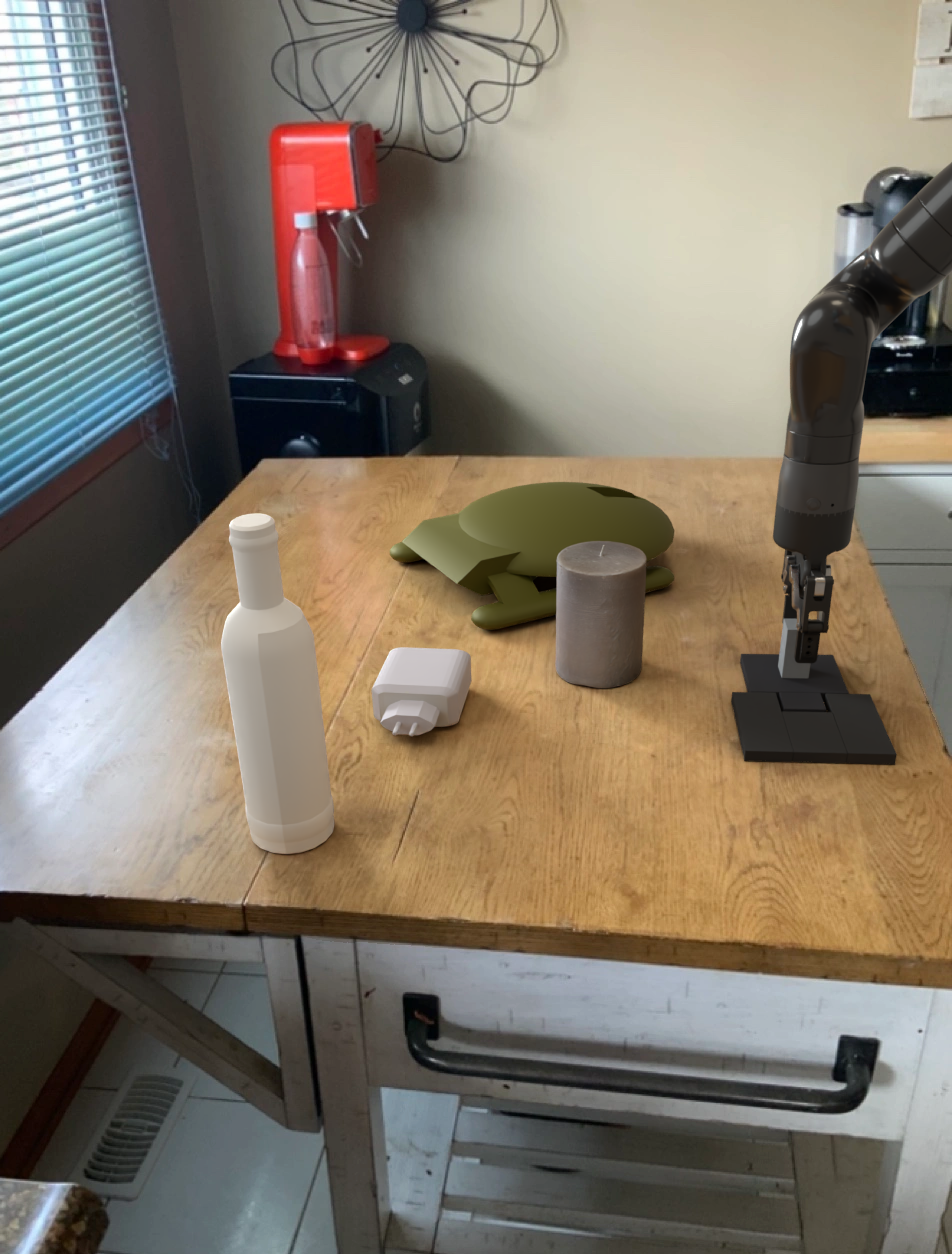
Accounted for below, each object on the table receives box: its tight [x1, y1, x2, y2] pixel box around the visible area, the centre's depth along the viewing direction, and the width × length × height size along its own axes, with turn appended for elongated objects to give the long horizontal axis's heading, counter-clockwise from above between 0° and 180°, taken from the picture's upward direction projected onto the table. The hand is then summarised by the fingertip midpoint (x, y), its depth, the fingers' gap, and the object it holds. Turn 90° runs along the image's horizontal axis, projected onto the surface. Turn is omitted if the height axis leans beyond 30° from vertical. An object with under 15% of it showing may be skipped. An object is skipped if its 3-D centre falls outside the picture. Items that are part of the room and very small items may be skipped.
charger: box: [370, 646, 473, 737], centre depth 120 cm, size 5×9×15 cm
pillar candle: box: [554, 541, 648, 689], centre depth 125 cm, size 10×10×15 cm
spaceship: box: [389, 481, 675, 631], centre depth 152 cm, size 35×31×10 cm
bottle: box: [220, 512, 335, 855], centre depth 97 cm, size 8×8×30 cm
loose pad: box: [739, 619, 850, 712], centre depth 120 cm, size 10×13×7 cm
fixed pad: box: [730, 691, 898, 766], centre depth 114 cm, size 14×12×1 cm
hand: (798, 643), depth 121 cm, fingers open, 8 cm apart
